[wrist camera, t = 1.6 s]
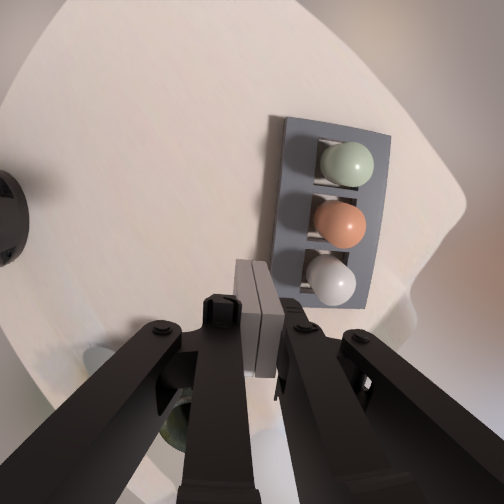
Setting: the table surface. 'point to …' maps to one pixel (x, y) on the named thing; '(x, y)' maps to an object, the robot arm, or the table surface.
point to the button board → (299, 205)
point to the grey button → (330, 280)
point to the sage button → (347, 164)
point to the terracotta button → (340, 223)
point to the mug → (178, 421)
